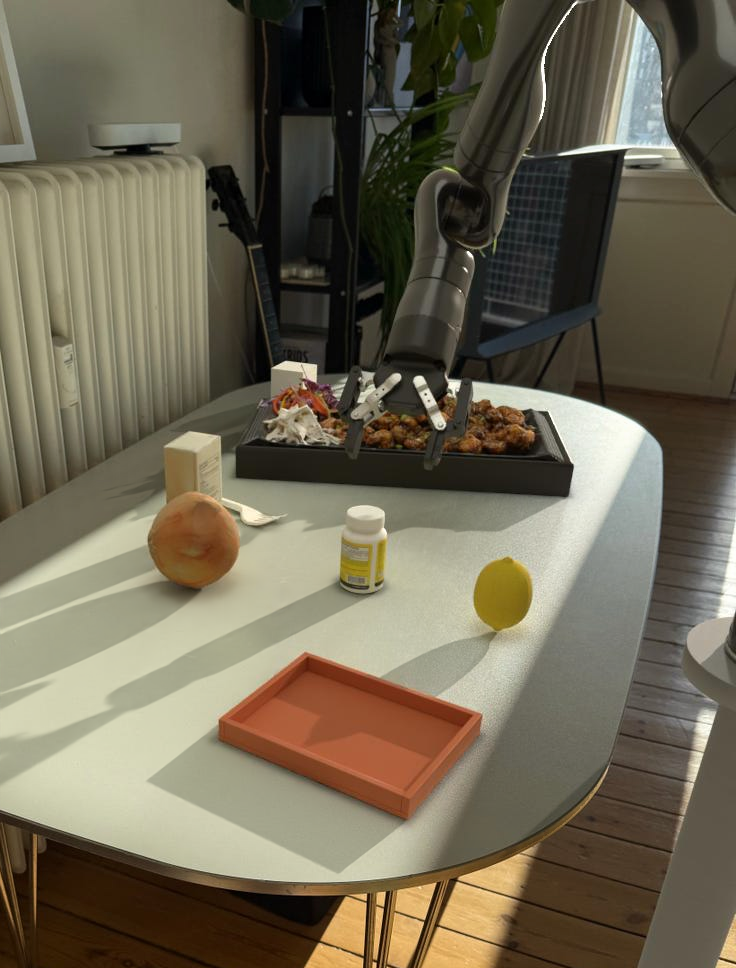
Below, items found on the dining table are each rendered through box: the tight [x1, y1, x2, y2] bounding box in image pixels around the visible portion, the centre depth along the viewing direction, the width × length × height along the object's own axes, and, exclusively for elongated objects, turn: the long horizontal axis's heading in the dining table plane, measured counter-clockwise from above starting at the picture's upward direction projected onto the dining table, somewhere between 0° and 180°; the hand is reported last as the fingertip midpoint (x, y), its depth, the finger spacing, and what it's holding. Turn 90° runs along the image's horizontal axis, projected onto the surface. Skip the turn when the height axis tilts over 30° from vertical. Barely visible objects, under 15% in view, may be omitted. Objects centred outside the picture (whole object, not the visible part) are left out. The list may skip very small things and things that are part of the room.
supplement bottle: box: [339, 504, 388, 594], centre depth 99 cm, size 5×5×8 cm
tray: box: [217, 651, 483, 821], centre depth 76 cm, size 17×13×2 cm
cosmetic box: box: [163, 430, 223, 506], centre depth 108 cm, size 6×4×12 cm
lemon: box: [472, 555, 534, 632], centre depth 90 cm, size 6×6×8 cm
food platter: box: [234, 364, 575, 497], centre depth 135 cm, size 45×25×10 cm, turn 82°
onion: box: [146, 491, 241, 589], centre depth 99 cm, size 10×10×10 cm
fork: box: [222, 497, 288, 526], centre depth 119 cm, size 3×20×2 cm, turn 44°
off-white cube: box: [270, 360, 318, 398], centre depth 161 cm, size 6×6×6 cm
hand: (389, 461), depth 101 cm, fingers open, 8 cm apart
